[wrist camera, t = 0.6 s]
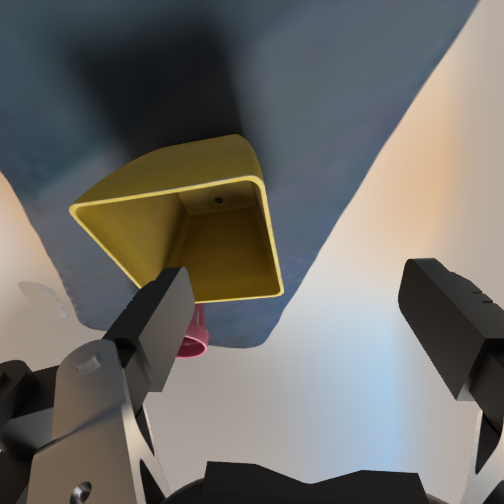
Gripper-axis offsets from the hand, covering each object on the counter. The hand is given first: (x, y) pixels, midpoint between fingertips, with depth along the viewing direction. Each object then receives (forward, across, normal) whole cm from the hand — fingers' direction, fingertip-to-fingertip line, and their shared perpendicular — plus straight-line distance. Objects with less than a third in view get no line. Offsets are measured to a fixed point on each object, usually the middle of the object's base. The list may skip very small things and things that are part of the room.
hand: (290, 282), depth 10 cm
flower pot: (+33, +11, +3) cm, 34 cm away
